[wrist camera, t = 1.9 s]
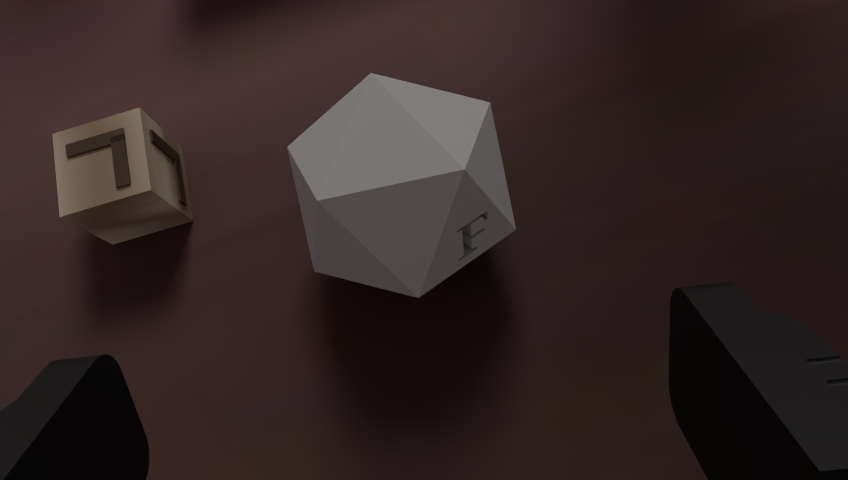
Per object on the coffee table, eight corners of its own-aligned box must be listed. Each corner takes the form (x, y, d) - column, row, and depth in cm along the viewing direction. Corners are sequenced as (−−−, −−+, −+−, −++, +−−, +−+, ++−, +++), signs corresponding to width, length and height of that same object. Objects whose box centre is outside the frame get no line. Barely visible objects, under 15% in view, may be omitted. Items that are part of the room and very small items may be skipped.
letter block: (184, 146, 33) (140, 105, 29) (196, 220, 32) (151, 187, 28) (104, 170, 33) (50, 132, 29) (113, 245, 32) (57, 215, 28)
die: (327, 330, 30) (432, 347, 21) (227, 157, 28) (297, 101, 20) (462, 239, 33) (597, 222, 25) (380, 81, 32) (494, 6, 23)
